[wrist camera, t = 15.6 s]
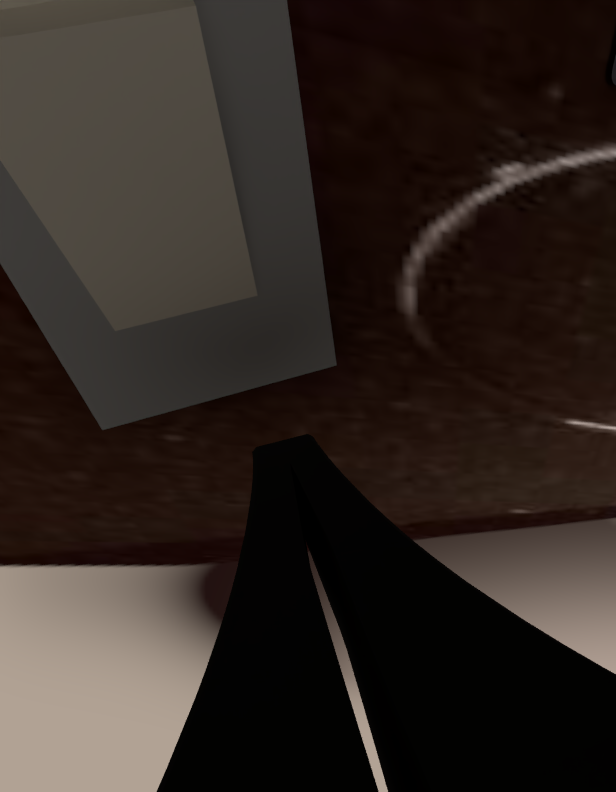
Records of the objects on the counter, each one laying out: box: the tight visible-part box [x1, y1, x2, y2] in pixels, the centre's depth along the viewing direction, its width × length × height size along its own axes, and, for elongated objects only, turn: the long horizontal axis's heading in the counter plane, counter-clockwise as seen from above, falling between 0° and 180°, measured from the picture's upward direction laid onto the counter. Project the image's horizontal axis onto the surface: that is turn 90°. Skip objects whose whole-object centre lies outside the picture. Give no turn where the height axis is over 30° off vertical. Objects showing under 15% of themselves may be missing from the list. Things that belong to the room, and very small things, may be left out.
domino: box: [0, 0, 258, 331], centre depth 10 cm, size 2×5×7 cm
